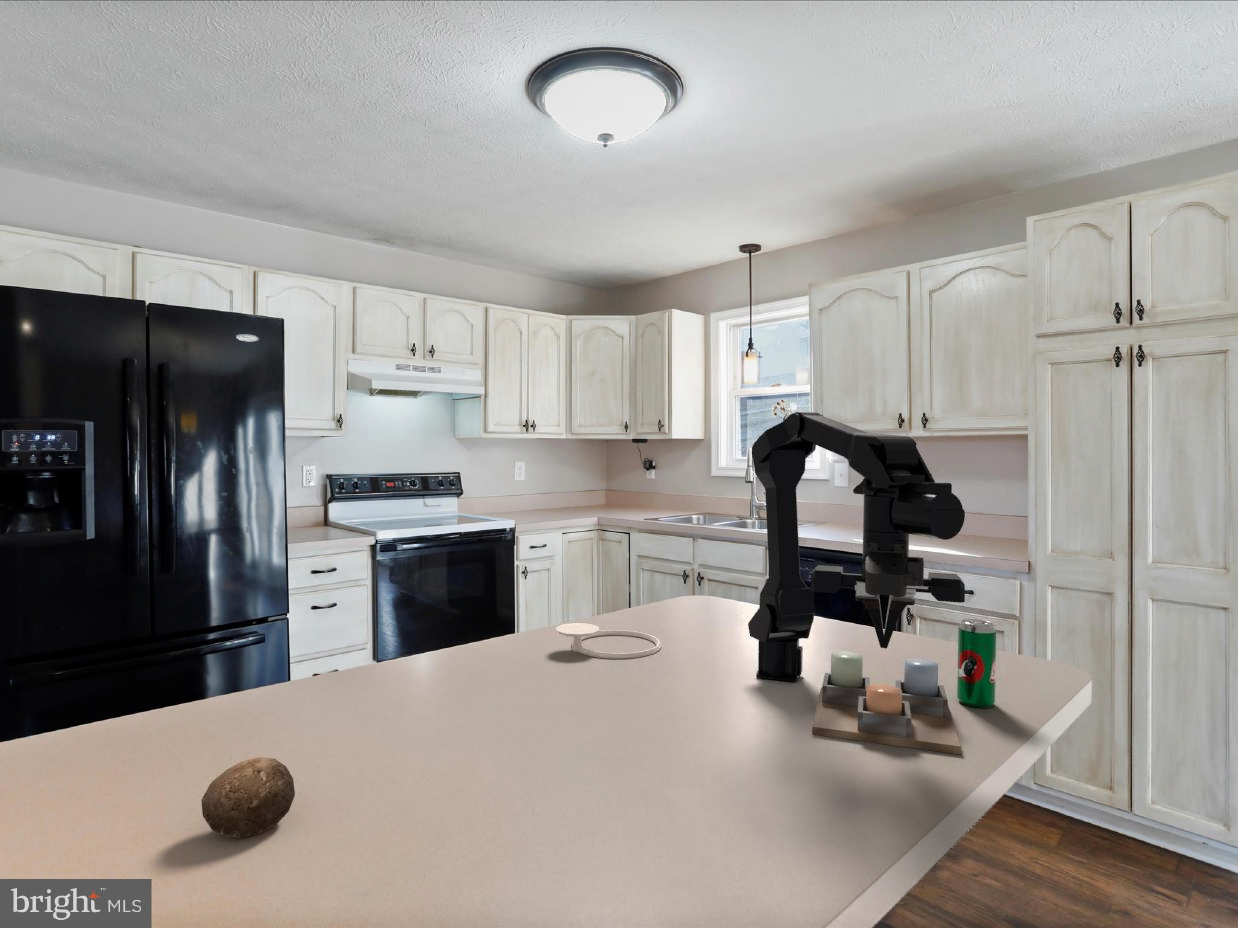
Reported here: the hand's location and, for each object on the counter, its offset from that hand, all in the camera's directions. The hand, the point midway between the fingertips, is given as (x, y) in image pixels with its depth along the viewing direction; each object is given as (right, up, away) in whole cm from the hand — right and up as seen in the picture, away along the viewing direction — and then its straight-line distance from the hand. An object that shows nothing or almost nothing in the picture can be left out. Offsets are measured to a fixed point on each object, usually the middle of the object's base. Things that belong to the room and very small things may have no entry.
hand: (883, 647), depth 95 cm
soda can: (+18, -11, +11) cm, 23 cm away
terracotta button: (0, -9, -1) cm, 9 cm away
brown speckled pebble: (-71, -11, -25) cm, 76 cm away
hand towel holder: (-37, -10, +39) cm, 55 cm away
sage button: (-2, -8, +9) cm, 12 cm away
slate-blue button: (+7, -8, +6) cm, 12 cm away
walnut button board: (+1, -11, +3) cm, 11 cm away
